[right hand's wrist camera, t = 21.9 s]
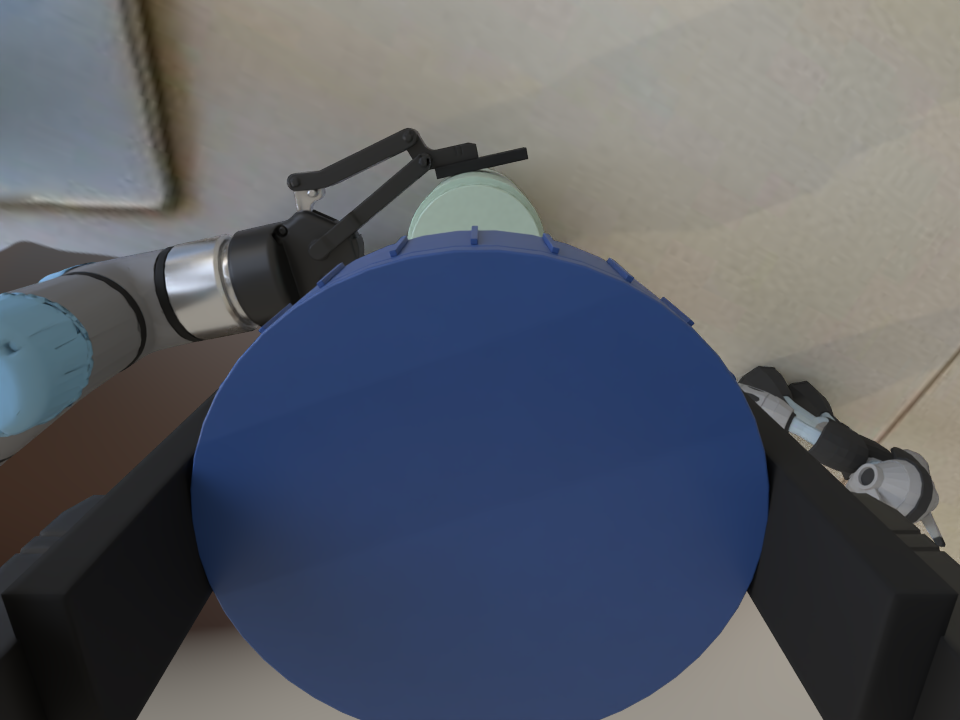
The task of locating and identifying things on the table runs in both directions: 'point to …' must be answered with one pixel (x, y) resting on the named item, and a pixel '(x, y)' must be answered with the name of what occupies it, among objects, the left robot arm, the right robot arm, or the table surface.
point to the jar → (475, 206)
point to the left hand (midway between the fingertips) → (537, 219)
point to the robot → (848, 448)
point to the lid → (479, 485)
